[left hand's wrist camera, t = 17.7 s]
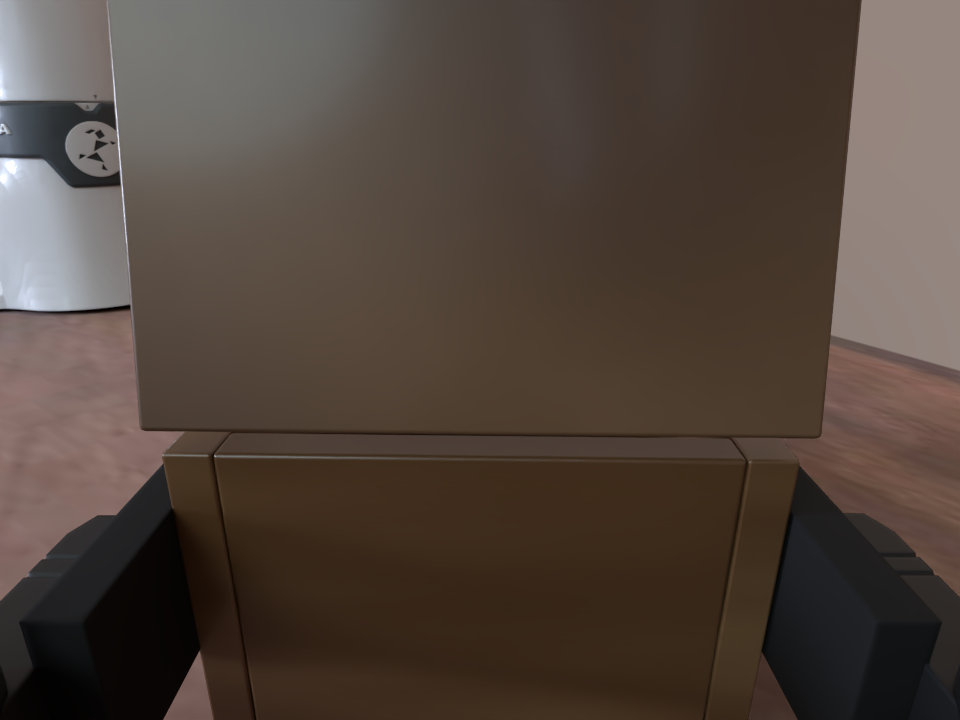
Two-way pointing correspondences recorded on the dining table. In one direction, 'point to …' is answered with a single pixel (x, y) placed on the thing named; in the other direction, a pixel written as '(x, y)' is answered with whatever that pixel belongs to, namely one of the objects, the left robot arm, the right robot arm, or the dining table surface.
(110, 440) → the dining table surface
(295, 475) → the chest
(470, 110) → the lid
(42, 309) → the right robot arm
